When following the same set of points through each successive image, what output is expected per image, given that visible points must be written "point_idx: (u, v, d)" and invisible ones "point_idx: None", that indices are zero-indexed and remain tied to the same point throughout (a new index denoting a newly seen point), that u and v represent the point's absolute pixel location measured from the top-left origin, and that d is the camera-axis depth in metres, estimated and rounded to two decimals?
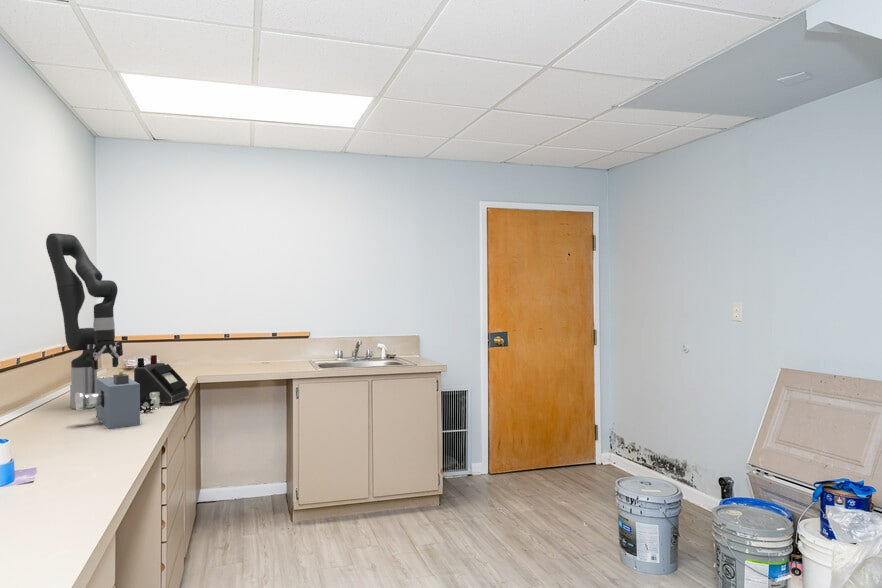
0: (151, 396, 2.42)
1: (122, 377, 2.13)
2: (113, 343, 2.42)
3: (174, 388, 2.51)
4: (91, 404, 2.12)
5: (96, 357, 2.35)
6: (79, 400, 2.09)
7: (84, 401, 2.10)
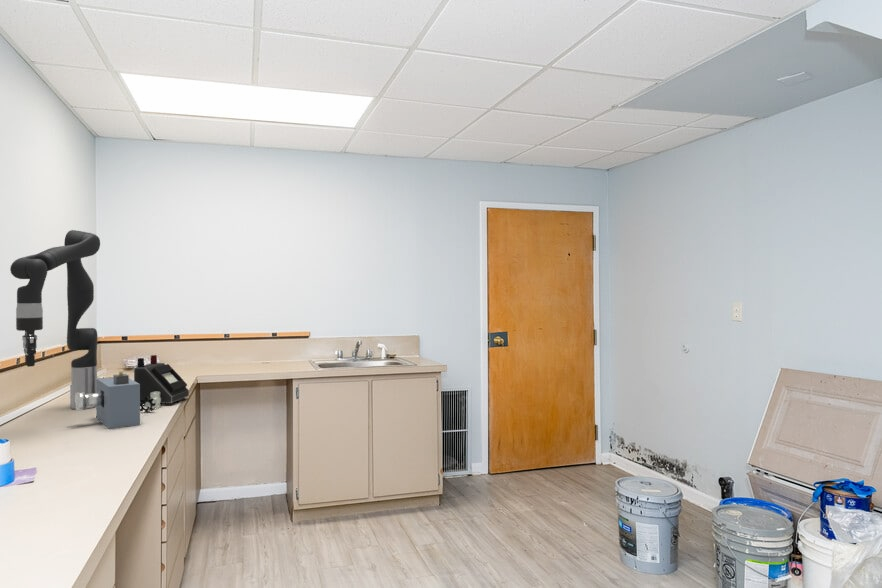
0: (152, 396, 2.42)
1: (122, 377, 2.13)
2: (26, 335, 1.99)
3: (174, 388, 2.51)
4: (91, 404, 2.12)
5: (24, 350, 2.04)
6: (79, 400, 2.09)
7: (84, 401, 2.10)
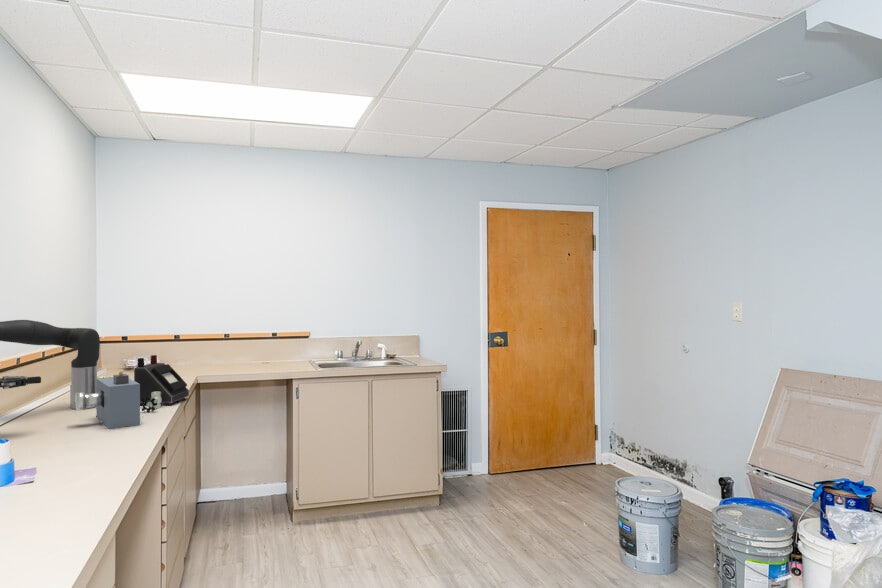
0: (153, 396, 2.43)
1: (122, 377, 2.13)
2: (2, 387, 1.94)
3: (174, 388, 2.51)
4: (91, 404, 2.12)
5: None
6: (79, 400, 2.09)
7: (84, 401, 2.10)
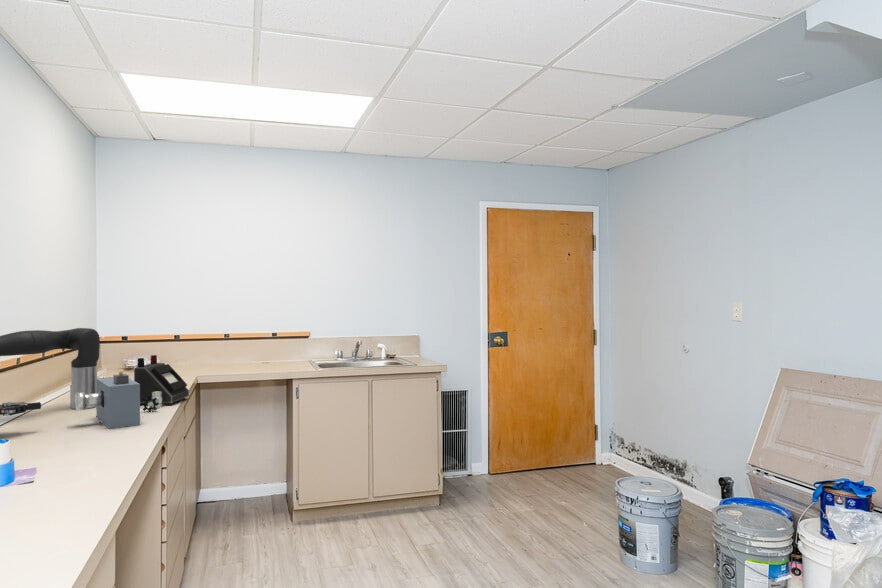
0: (154, 395, 2.43)
1: (122, 377, 2.13)
2: None
3: (174, 388, 2.51)
4: (91, 404, 2.12)
5: None
6: (79, 400, 2.09)
7: (84, 401, 2.10)
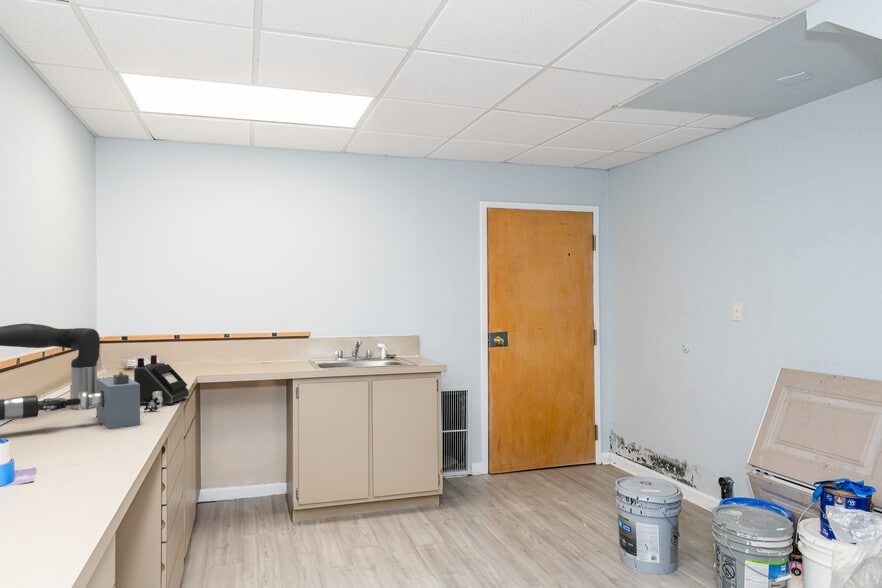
0: (154, 395, 2.44)
1: (122, 377, 2.13)
2: (44, 409, 2.02)
3: (174, 388, 2.51)
4: (94, 403, 2.13)
5: None
6: (82, 400, 2.10)
7: (87, 401, 2.11)
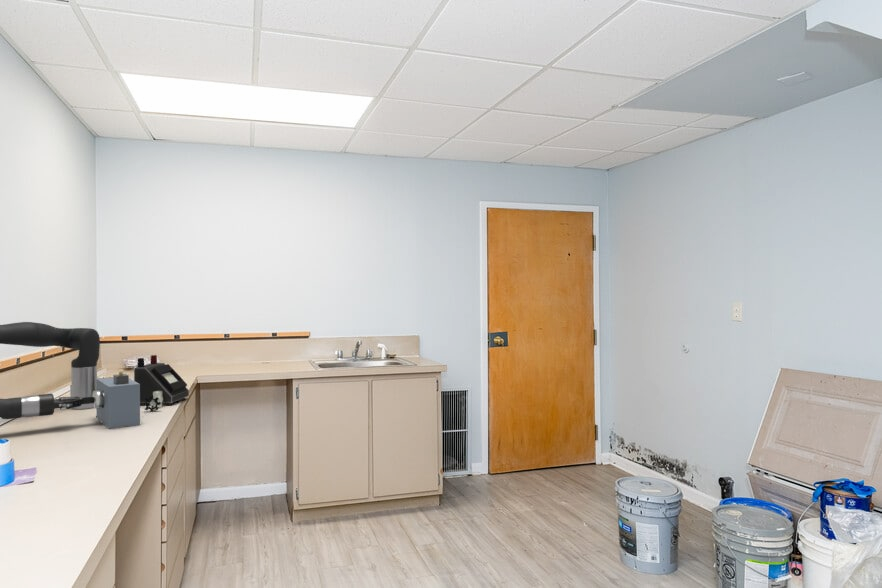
0: (155, 395, 2.44)
1: (122, 377, 2.13)
2: (60, 407, 2.05)
3: (174, 388, 2.51)
4: None
5: None
6: (97, 398, 2.13)
7: (102, 399, 2.13)
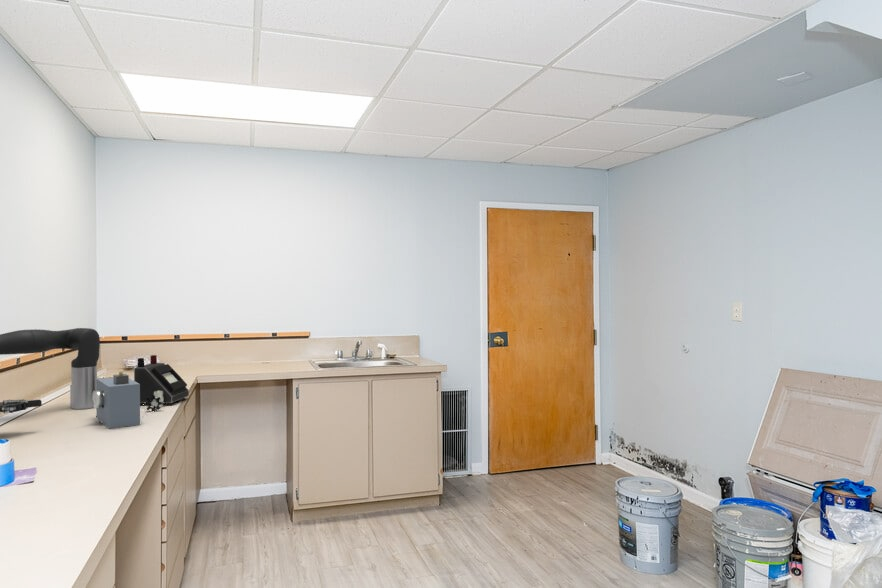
0: (155, 395, 2.44)
1: (122, 377, 2.13)
2: (3, 411, 1.95)
3: (174, 388, 2.51)
4: None
5: None
6: (97, 398, 2.13)
7: (102, 399, 2.13)
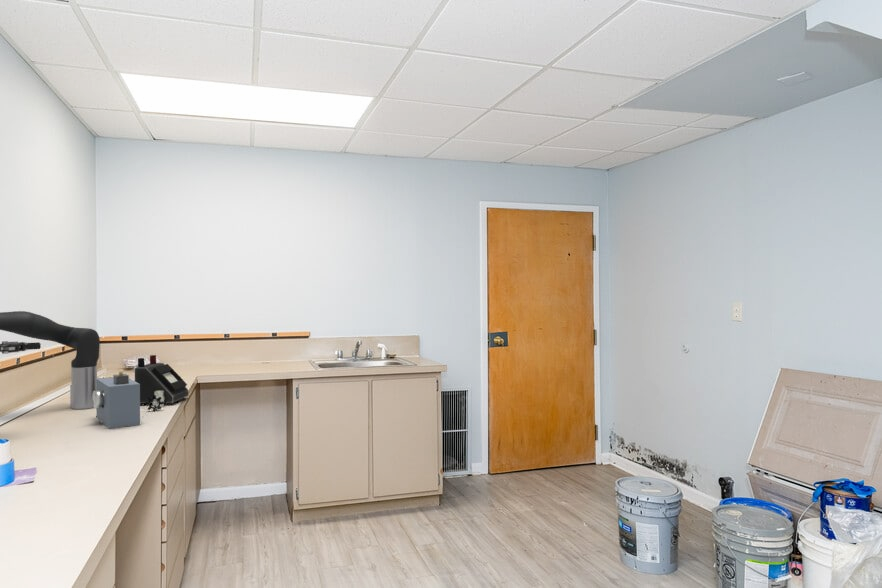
0: (156, 395, 2.45)
1: (122, 377, 2.13)
2: (1, 351, 1.94)
3: (175, 388, 2.51)
4: None
5: None
6: (97, 398, 2.13)
7: (102, 399, 2.13)
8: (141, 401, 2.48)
